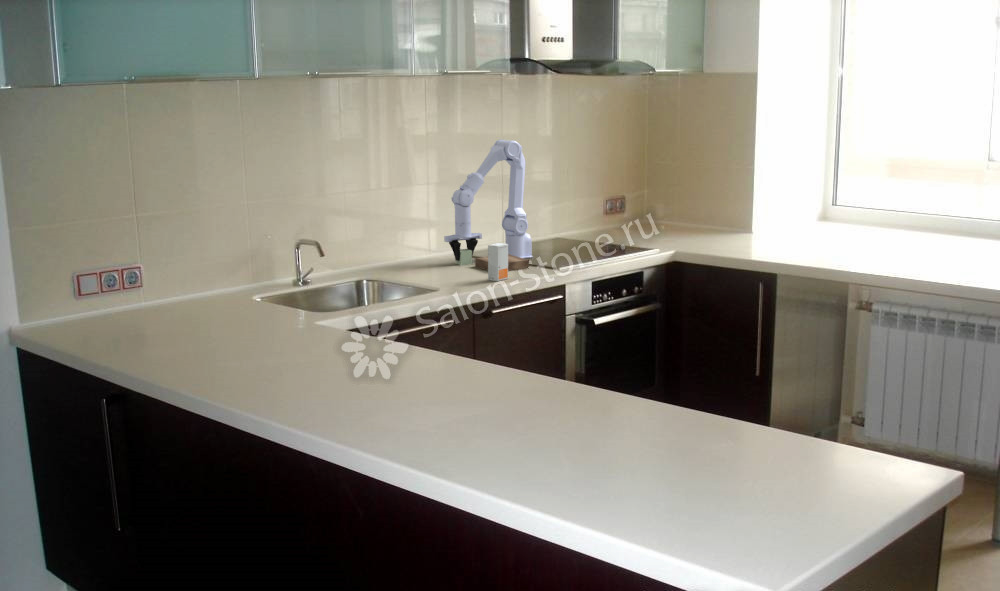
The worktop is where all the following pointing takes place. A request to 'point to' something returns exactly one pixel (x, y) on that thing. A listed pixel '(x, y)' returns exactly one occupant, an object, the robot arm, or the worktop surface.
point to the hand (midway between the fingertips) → (463, 259)
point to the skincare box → (497, 261)
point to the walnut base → (513, 263)
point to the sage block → (465, 257)
